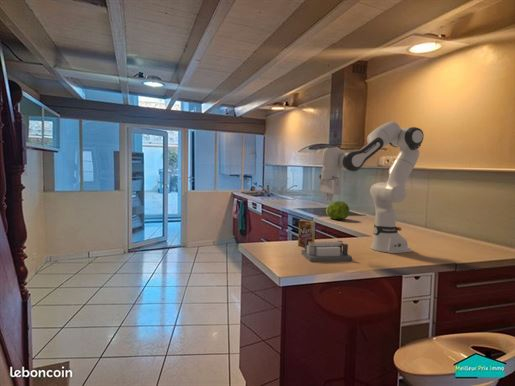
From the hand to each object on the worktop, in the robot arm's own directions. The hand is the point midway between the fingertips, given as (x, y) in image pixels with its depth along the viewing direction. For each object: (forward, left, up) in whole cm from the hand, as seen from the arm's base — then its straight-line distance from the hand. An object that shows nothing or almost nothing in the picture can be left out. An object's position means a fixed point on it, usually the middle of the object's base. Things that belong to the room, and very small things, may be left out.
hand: (329, 201), depth 175 cm
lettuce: (-54, -110, -28) cm, 125 cm away
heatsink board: (+5, +10, -28) cm, 30 cm away
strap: (+5, +10, -22) cm, 25 cm away
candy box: (+8, -13, -28) cm, 32 cm away
